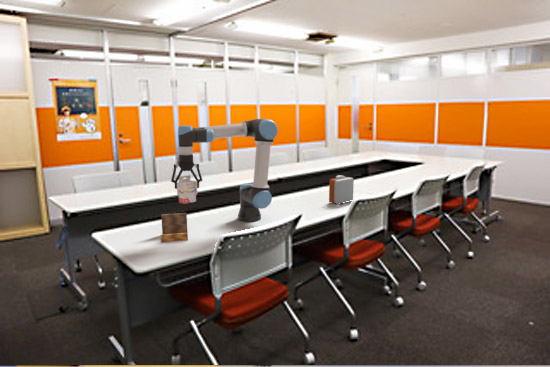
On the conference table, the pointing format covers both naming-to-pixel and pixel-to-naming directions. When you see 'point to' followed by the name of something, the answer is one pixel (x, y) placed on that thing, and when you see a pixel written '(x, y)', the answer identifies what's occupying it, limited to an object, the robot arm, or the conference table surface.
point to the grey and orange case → (341, 189)
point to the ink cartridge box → (187, 190)
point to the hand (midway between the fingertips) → (187, 194)
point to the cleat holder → (174, 227)
